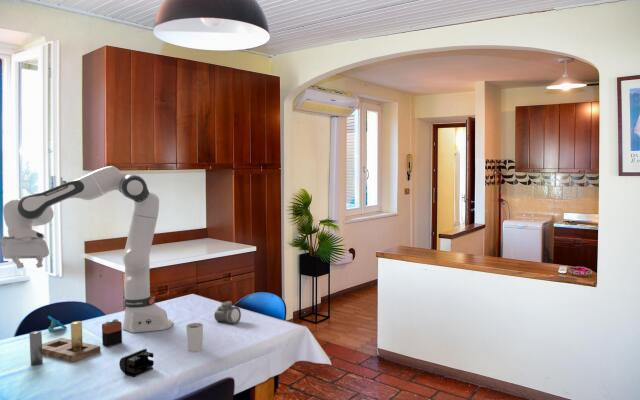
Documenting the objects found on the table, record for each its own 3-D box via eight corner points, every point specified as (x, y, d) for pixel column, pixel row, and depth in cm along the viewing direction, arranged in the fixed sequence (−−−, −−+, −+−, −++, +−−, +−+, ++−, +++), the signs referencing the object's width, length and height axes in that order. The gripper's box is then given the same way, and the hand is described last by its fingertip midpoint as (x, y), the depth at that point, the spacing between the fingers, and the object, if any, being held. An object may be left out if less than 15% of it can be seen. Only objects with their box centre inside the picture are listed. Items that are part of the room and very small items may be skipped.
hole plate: (34, 352, 200) (34, 346, 200) (61, 343, 211) (61, 337, 211) (74, 362, 190) (73, 356, 190) (100, 352, 200) (100, 346, 200)
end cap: (141, 364, 187) (141, 347, 187) (154, 368, 184) (154, 350, 183) (119, 374, 179) (118, 355, 178) (132, 378, 175) (132, 359, 175)
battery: (122, 342, 211) (121, 319, 211) (107, 347, 206) (106, 323, 205) (117, 340, 214) (116, 318, 213) (102, 345, 209) (101, 321, 208)
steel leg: (44, 361, 191) (43, 330, 190) (39, 365, 187) (38, 334, 186) (33, 361, 191) (32, 331, 190) (28, 365, 187) (27, 334, 186)
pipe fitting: (243, 320, 240) (239, 300, 240) (232, 326, 233) (228, 305, 233) (224, 319, 246) (220, 299, 246) (213, 325, 239) (209, 305, 239)
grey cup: (188, 353, 198) (188, 328, 198) (185, 348, 204) (184, 324, 204) (205, 350, 202) (204, 326, 201) (201, 345, 207) (200, 321, 207)
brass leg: (84, 352, 200) (83, 321, 199) (80, 356, 196) (79, 324, 195) (74, 353, 199) (72, 321, 199) (70, 356, 196) (69, 324, 195)
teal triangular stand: (70, 327, 228) (51, 315, 223) (60, 338, 225) (42, 326, 220) (64, 325, 236) (46, 313, 232) (55, 336, 233) (37, 324, 229)
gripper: (5, 233, 197) (14, 265, 194) (47, 234, 217) (55, 263, 214) (-7, 239, 199) (2, 271, 196) (36, 240, 218) (44, 269, 215)
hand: (30, 267), depth 205 cm, fingers open, 8 cm apart
